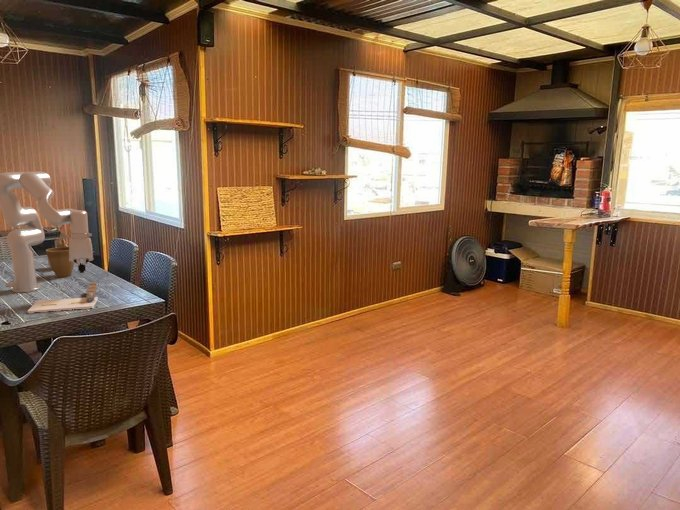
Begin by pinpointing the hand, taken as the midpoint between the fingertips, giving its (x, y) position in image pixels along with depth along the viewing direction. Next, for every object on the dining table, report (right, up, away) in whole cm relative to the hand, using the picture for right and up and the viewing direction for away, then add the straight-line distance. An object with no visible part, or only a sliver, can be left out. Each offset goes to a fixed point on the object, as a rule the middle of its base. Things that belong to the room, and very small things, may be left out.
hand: (82, 272), depth 243 cm
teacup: (-45, 0, +58) cm, 73 cm away
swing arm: (+6, -11, -2) cm, 12 cm away
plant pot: (-32, -4, +40) cm, 52 cm away
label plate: (-1, -15, -15) cm, 21 cm away
